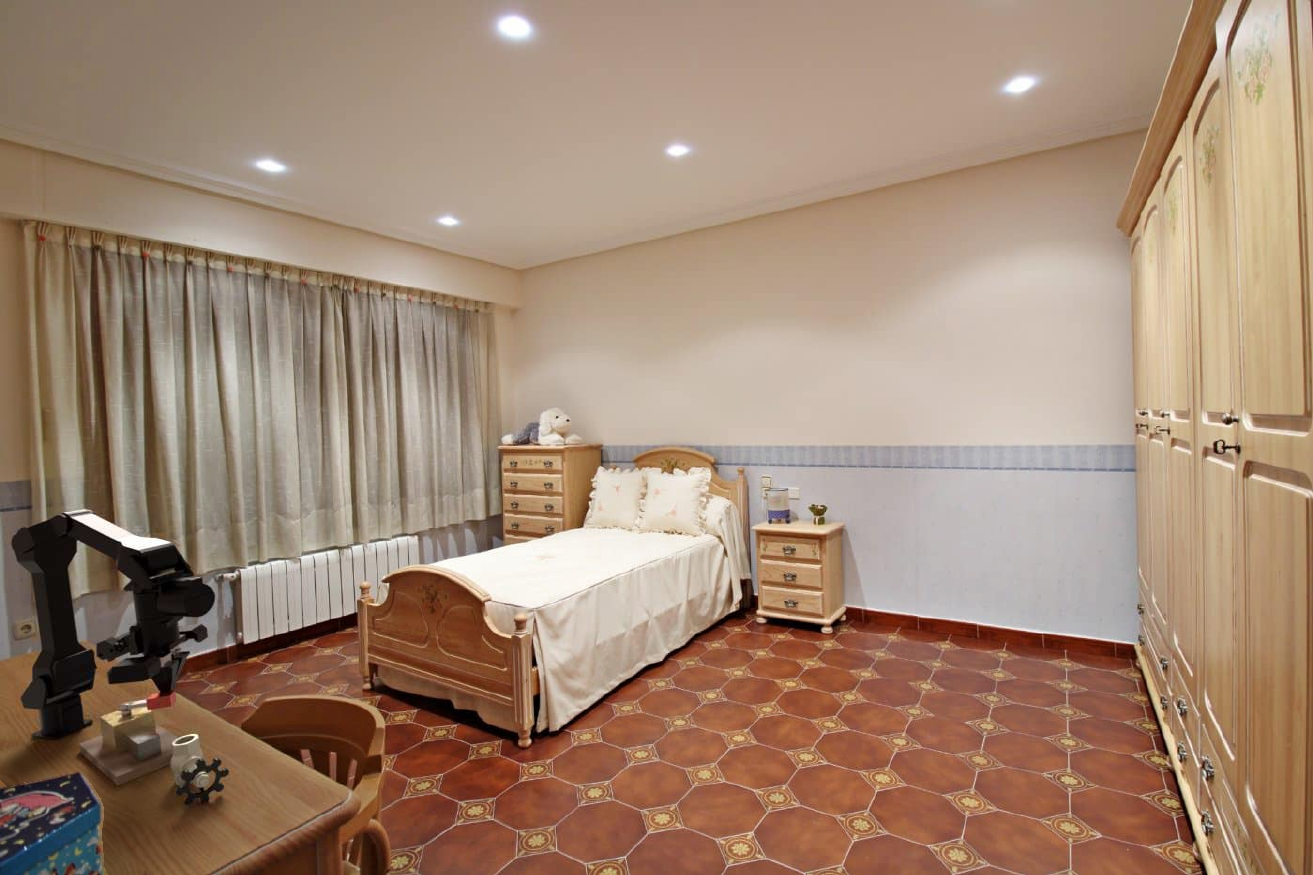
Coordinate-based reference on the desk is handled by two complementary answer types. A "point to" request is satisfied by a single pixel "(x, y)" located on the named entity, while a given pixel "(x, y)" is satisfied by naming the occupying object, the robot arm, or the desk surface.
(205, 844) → the desk surface
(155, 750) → the beige stepped block
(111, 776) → the valve plank
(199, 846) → the desk surface
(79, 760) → the desk surface
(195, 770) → the valve
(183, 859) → the desk surface
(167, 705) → the lever
